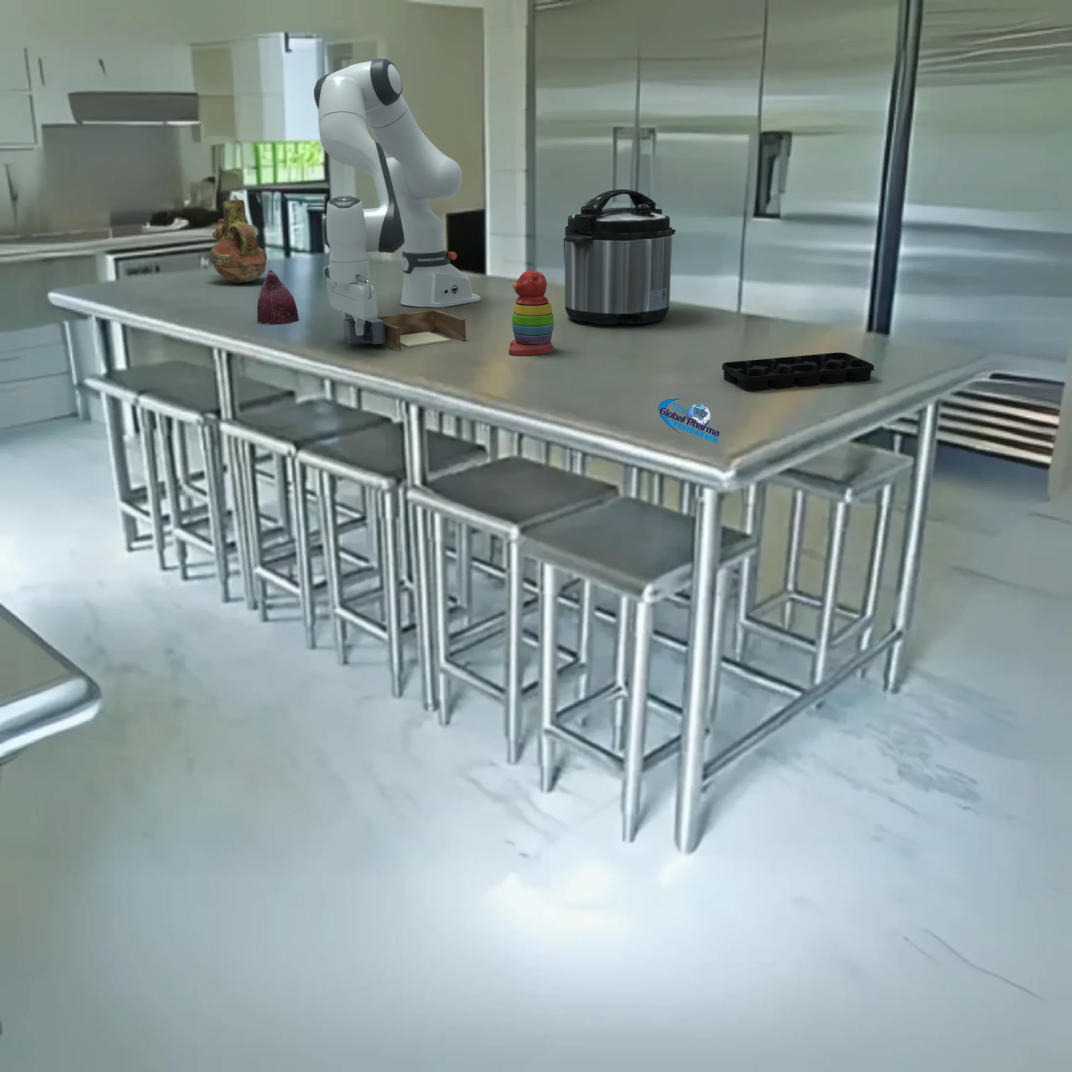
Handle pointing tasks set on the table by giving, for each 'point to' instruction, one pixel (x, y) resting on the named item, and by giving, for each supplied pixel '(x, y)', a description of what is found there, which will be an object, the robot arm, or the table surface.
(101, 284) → the table surface
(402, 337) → the pad
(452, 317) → the bay
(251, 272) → the ceramic vessel
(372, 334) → the bracket
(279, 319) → the vegetable
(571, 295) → the pressure cooker
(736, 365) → the black plastic tray
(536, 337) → the stacking bear
